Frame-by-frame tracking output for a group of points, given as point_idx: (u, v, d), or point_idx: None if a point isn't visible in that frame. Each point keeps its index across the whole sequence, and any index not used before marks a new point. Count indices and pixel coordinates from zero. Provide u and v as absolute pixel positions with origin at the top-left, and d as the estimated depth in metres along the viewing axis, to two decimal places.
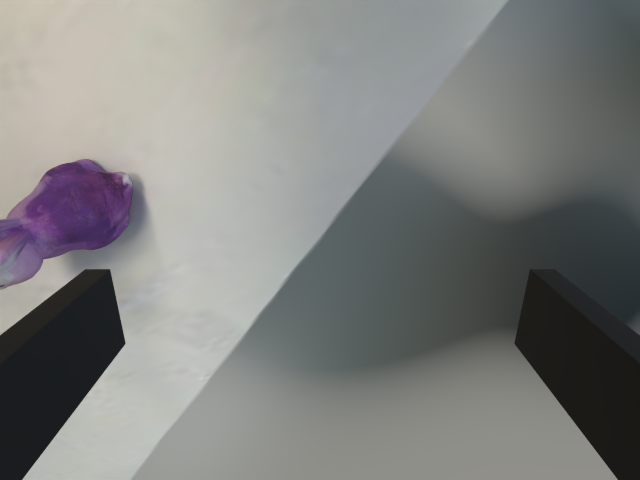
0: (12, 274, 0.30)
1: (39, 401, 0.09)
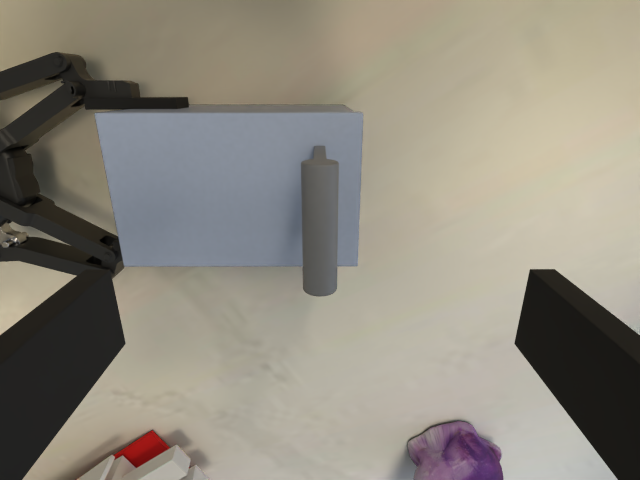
0: None
1: (39, 402, 0.09)
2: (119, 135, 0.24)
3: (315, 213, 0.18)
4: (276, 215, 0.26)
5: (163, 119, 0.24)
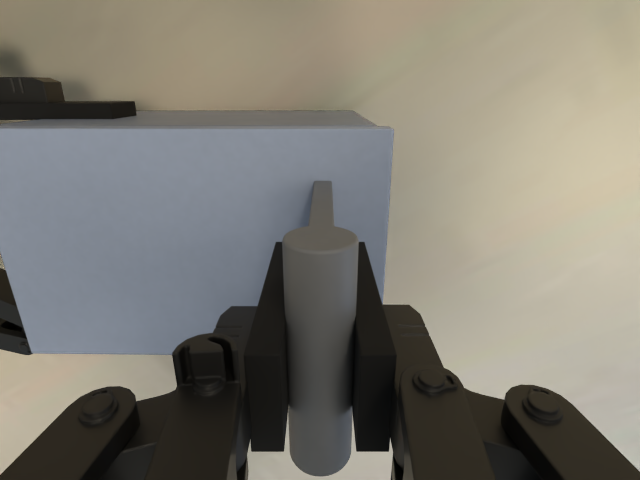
0: None
1: None
2: (4, 164, 0.15)
3: (310, 340, 0.09)
4: (255, 284, 0.17)
5: (71, 139, 0.15)
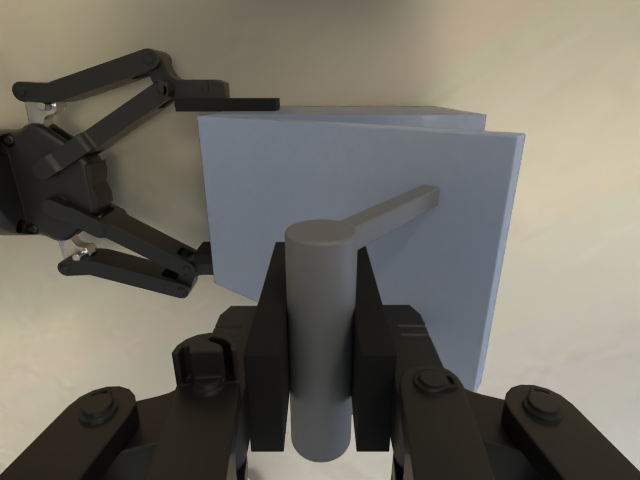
0: None
1: None
2: (214, 142, 0.21)
3: (293, 322, 0.10)
4: None
5: (249, 127, 0.19)
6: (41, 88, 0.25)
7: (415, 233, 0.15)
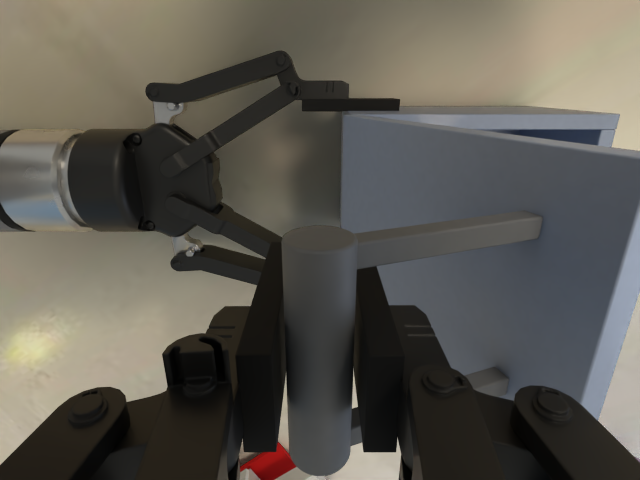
0: None
1: (284, 341, 0.11)
2: (352, 141, 0.22)
3: (284, 322, 0.10)
4: (451, 303, 0.16)
5: (377, 128, 0.19)
6: (174, 89, 0.26)
7: (510, 268, 0.12)
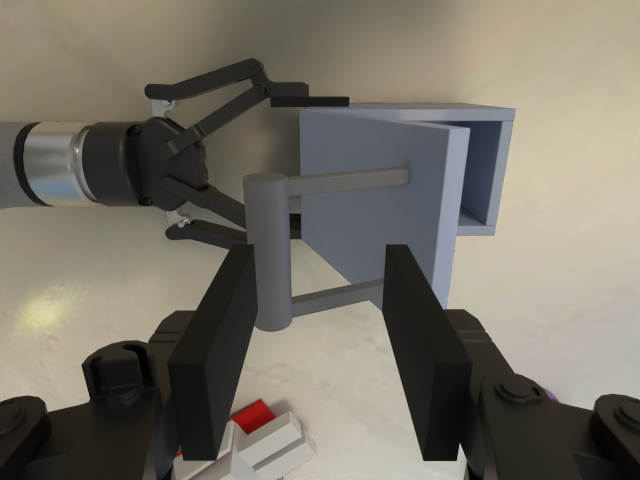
0: None
1: (235, 346, 0.11)
2: (305, 129, 0.28)
3: None
4: (369, 239, 0.22)
5: (321, 118, 0.26)
6: (167, 89, 0.33)
7: (397, 206, 0.19)
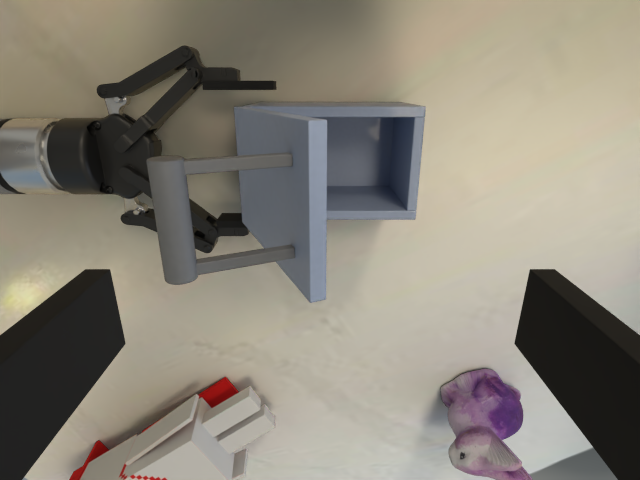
0: None
1: (39, 401, 0.09)
2: (238, 124, 0.32)
3: None
4: (277, 216, 0.26)
5: (246, 114, 0.30)
6: (116, 86, 0.37)
7: (288, 185, 0.23)
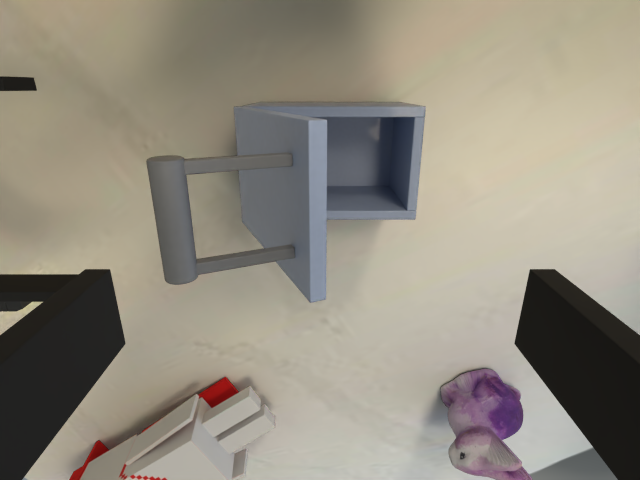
0: None
1: (39, 401, 0.09)
2: (238, 124, 0.32)
3: None
4: (277, 215, 0.26)
5: (246, 114, 0.30)
6: None
7: (288, 185, 0.23)
